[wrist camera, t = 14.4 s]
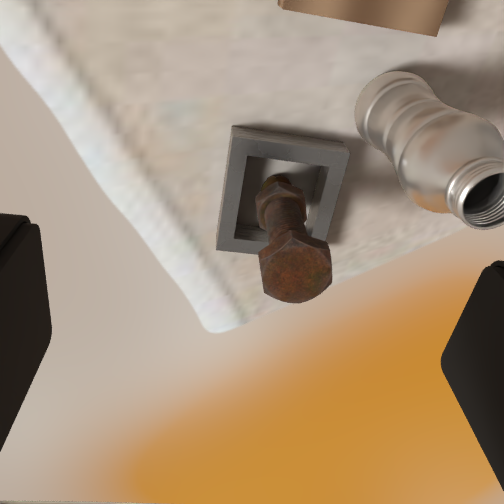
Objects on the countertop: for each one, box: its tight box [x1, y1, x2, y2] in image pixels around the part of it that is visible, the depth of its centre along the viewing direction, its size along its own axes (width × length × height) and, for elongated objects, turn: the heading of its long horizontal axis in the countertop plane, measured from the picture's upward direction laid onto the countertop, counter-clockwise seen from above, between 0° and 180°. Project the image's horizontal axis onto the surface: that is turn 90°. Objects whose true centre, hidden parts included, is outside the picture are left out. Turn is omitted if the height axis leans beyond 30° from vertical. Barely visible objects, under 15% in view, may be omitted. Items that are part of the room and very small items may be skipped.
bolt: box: [255, 175, 332, 303], centre depth 40 cm, size 6×5×15 cm
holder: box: [216, 126, 350, 255], centre depth 45 cm, size 10×12×3 cm
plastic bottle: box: [355, 71, 504, 230], centre depth 34 cm, size 6×7×20 cm
